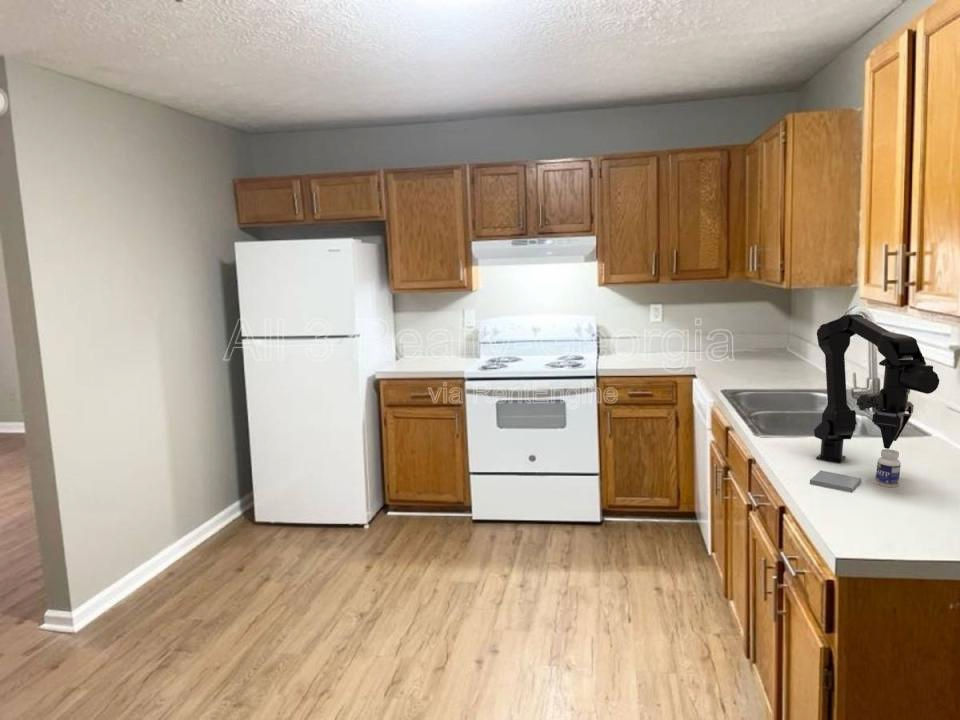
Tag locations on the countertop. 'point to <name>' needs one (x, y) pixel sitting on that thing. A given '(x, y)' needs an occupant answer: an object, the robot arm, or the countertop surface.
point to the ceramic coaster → (835, 481)
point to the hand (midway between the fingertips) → (890, 444)
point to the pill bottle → (888, 468)
